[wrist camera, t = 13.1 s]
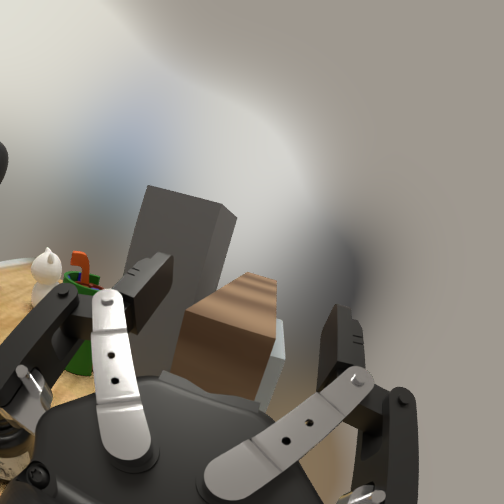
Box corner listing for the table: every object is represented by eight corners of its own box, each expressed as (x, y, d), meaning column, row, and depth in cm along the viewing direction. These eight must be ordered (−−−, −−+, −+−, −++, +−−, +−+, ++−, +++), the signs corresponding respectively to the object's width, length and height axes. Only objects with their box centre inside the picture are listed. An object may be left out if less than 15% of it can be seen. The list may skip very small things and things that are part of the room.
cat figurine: (25, 301, 55) (32, 243, 55) (67, 305, 65) (76, 251, 64) (29, 316, 49) (35, 251, 49) (75, 319, 59) (84, 260, 59)
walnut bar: (248, 415, 11) (275, 338, 11) (166, 387, 11) (185, 309, 11) (267, 309, 35) (276, 280, 34) (238, 300, 35) (247, 271, 35)
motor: (107, 375, 43) (126, 267, 43) (61, 375, 36) (74, 258, 36) (89, 348, 50) (106, 252, 49) (49, 346, 43) (63, 244, 43)
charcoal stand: (160, 446, 31) (221, 203, 30) (102, 418, 31) (147, 185, 31) (184, 406, 43) (237, 217, 42) (136, 387, 43) (180, 202, 43)
